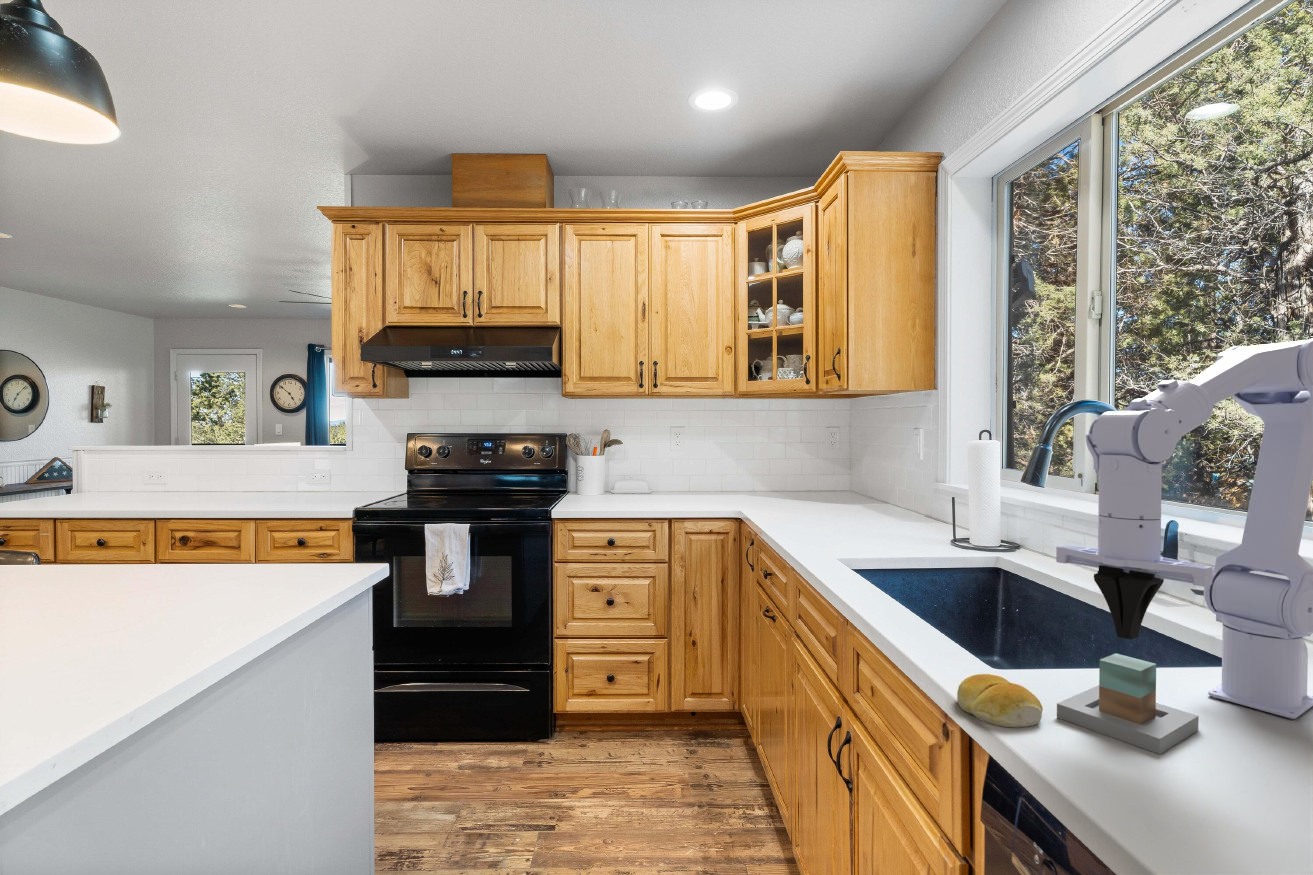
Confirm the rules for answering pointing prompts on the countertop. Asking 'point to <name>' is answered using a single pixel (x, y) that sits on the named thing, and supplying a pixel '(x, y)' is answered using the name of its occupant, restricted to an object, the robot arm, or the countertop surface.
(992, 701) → the bread roll
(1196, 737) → the countertop surface
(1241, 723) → the countertop surface
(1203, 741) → the countertop surface
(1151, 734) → the base plate
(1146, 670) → the brick stack
